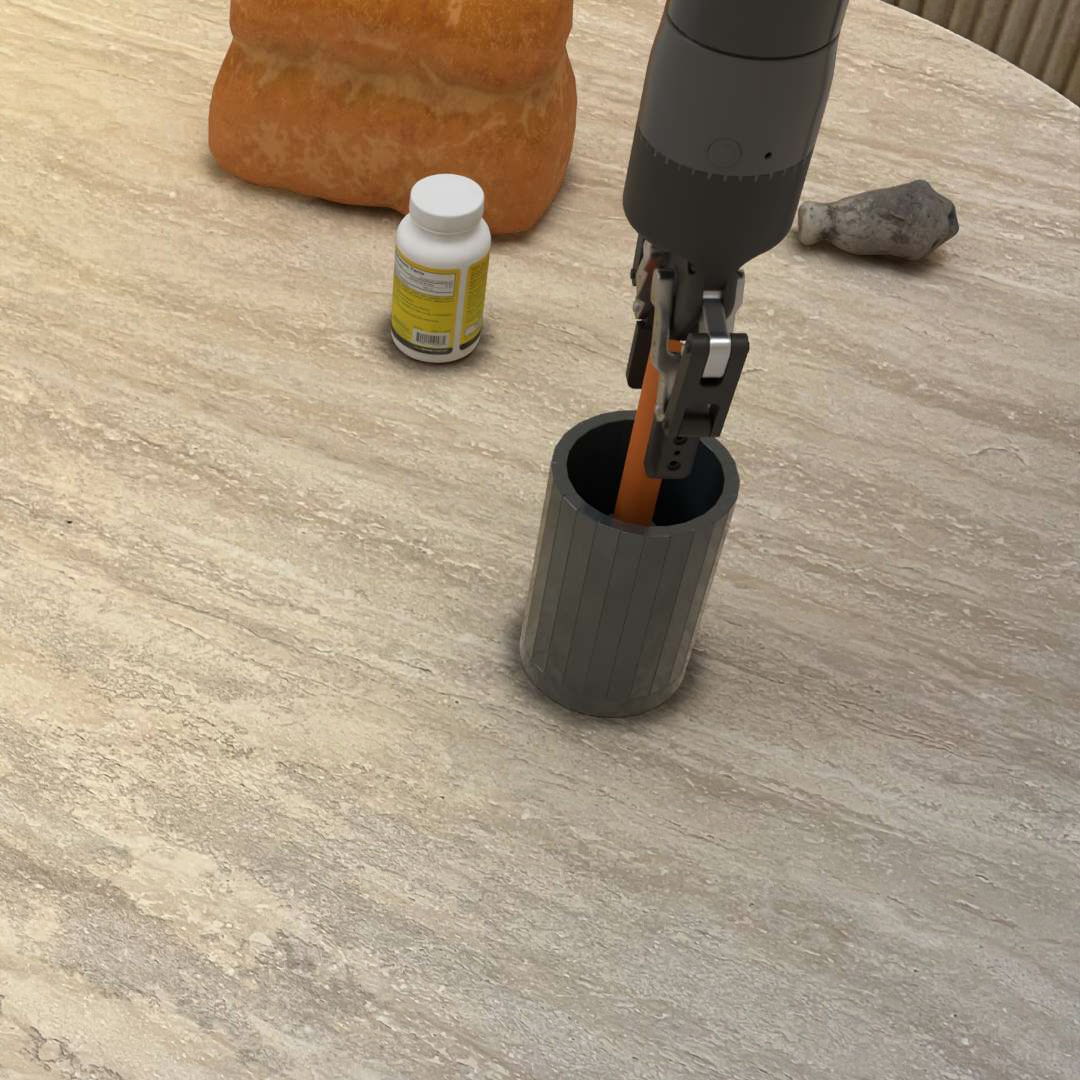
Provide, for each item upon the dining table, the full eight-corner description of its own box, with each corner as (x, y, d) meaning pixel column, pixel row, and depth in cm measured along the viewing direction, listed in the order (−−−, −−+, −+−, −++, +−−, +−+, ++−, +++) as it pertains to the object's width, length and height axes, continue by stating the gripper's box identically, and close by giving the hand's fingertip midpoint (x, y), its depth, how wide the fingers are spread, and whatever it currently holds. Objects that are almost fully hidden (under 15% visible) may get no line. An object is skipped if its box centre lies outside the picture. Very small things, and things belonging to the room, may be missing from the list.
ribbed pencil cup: (672, 594, 101) (723, 409, 90) (697, 717, 95) (754, 536, 84) (512, 594, 101) (542, 409, 90) (527, 717, 95) (562, 536, 84)
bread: (531, 257, 121) (565, 24, 108) (192, 182, 127) (183, -50, 113) (585, 142, 130) (623, -87, 116) (266, 76, 136) (266, -150, 122)
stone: (780, 259, 123) (851, 242, 115) (788, 181, 122) (860, 158, 115) (893, 275, 126) (968, 259, 119) (901, 199, 125) (978, 179, 118)
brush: (631, 613, 98) (703, 328, 82) (640, 660, 96) (714, 376, 80) (569, 613, 98) (629, 328, 82) (576, 660, 96) (638, 376, 80)
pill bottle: (455, 301, 118) (470, 157, 109) (495, 353, 115) (514, 209, 106) (374, 322, 117) (383, 178, 108) (412, 375, 113) (425, 231, 104)
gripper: (852, 219, 67) (755, 528, 81) (785, 30, 76) (707, 337, 89) (663, 219, 67) (597, 528, 81) (618, 29, 76) (565, 337, 89)
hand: (655, 427), depth 85 cm, fingers open, 6 cm apart
